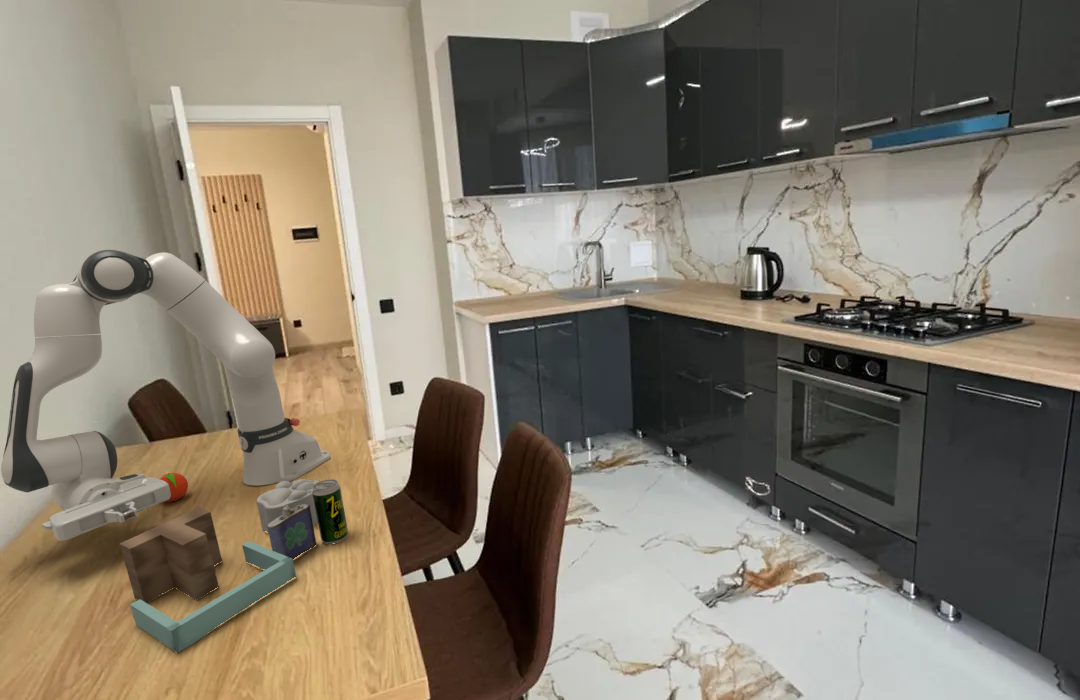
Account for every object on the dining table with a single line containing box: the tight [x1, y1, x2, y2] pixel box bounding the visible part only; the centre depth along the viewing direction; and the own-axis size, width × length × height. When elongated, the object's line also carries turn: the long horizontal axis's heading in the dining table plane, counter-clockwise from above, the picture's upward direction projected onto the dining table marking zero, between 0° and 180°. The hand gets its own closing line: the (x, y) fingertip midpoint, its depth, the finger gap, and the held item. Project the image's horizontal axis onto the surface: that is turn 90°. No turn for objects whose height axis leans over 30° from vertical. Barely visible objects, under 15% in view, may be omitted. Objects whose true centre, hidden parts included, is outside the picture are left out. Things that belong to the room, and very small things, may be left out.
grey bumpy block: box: [256, 478, 321, 534], centre depth 127 cm, size 10×13×9 cm
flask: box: [267, 504, 317, 559], centre depth 113 cm, size 9×3×11 cm, turn 151°
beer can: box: [312, 478, 349, 545], centre depth 118 cm, size 5×5×12 cm
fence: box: [129, 540, 297, 653], centre depth 102 cm, size 21×14×4 cm, turn 147°
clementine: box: [159, 472, 189, 503], centre depth 143 cm, size 8×7×7 cm
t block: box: [119, 507, 223, 604], centre depth 106 cm, size 14×12×11 cm
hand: (129, 516), depth 115 cm, fingers closed
